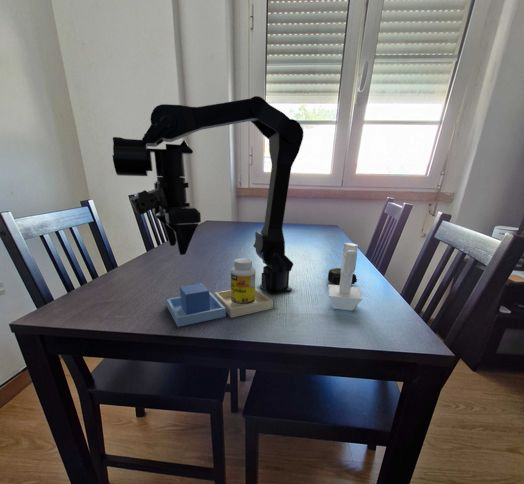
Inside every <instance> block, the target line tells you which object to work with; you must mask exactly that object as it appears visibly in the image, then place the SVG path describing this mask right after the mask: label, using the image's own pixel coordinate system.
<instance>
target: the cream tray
mask: <svg viewBox="0 0 524 484" xmlns="http://www.w3.org/2000/svg"><path fill="white" fill-rule="evenodd" d="M214 297H215V298H216V299H217V300H218V301H219V302H220V303H221V304H222V305H223V306H224V307H225V308H226V315H228V316H229V317H230V318H231V319H232V318H237V317H241V316H246V315H249V314H254V313H258V312H263V311H267V310H272V309H273V305H274V304H273V300H272V299H271V298H270V297H269V296H267V295H266V294H265V293H262V291H260V290H258V289H257V288H256V287H255V301H254V303H253V304H249V305H244V306H238V305H235V304H233V303H232V301H231V289H228V290H222V291H216V292H214Z"/></svg>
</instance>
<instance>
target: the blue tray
mask: <svg viewBox="0 0 524 484" xmlns="http://www.w3.org/2000/svg"><path fill="white" fill-rule="evenodd" d="M209 298H210V310H209V311H204V312H199V313H194V314H189V315H186V313H185V312H184V310H183V309H182V306H181V296H176V297H171V298H166V306H167V309H168V311H169V313H170V315H171V316H172V319H173V320H174V322H175V324H176V326H177V328H179V327H185V326H188V325H194V324H199V323H202V322H206V321H207V322H208V321H212V320H216V319H221V318H225V317H227V313H226V308H225V307H224V306H223V305H222V304H221V303H220V302H219V301H218V300H217V299H216V298H215V294H213V293H212V292H211V291H209Z"/></svg>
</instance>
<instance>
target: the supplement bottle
mask: <svg viewBox="0 0 524 484" xmlns="http://www.w3.org/2000/svg"><path fill="white" fill-rule="evenodd" d="M255 288H256V269H255V268H254V267H253V260H252V259H250V258H246V257H239V258H236V259H234V261H233V267H232V268H231V270H230V290H231V301H232V303H233V304H235V305H238V306H244V305H249V304H253V303H254V301H255Z"/></svg>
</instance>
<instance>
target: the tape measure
mask: <svg viewBox="0 0 524 484" xmlns="http://www.w3.org/2000/svg"><path fill="white" fill-rule="evenodd" d="M340 278H341V267H335V268H331V269H329V270H328V274H327V281H328V282H329V283H331V284H332V285H338V286H340ZM357 282H358V279H357V274H355V273H353V277H352V283H351V285H355V284H356V283H357Z"/></svg>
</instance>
